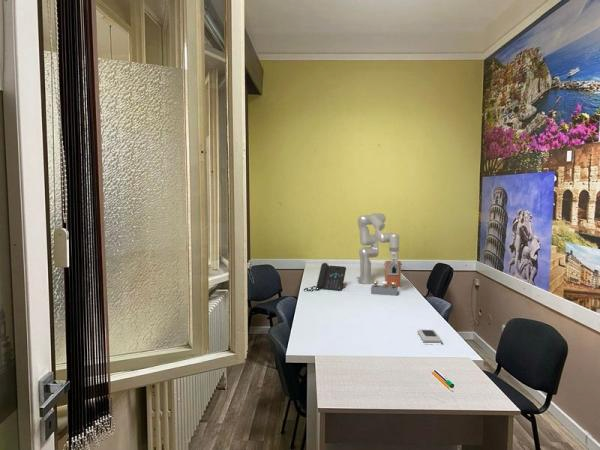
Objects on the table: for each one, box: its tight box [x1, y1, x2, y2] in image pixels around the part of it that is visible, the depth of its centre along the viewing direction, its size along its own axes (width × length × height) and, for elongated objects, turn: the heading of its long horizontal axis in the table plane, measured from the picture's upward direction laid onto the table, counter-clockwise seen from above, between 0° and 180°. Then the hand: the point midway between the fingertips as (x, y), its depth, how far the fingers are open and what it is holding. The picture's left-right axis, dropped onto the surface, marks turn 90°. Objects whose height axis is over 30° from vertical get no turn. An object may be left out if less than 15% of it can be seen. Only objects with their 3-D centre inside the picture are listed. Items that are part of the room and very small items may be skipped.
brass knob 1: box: [372, 279, 379, 287], centre depth 316 cm, size 4×4×6 cm
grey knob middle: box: [381, 280, 387, 288], centre depth 314 cm, size 4×4×6 cm
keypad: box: [417, 329, 443, 344], centre depth 218 cm, size 10×4×15 cm
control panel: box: [383, 260, 403, 288], centre depth 337 cm, size 21×7×15 cm
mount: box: [370, 284, 399, 296], centre depth 315 cm, size 20×10×5 cm, turn 74°
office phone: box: [303, 262, 347, 292], centre depth 330 cm, size 29×28×20 cm
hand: (394, 272), depth 311 cm, fingers closed
